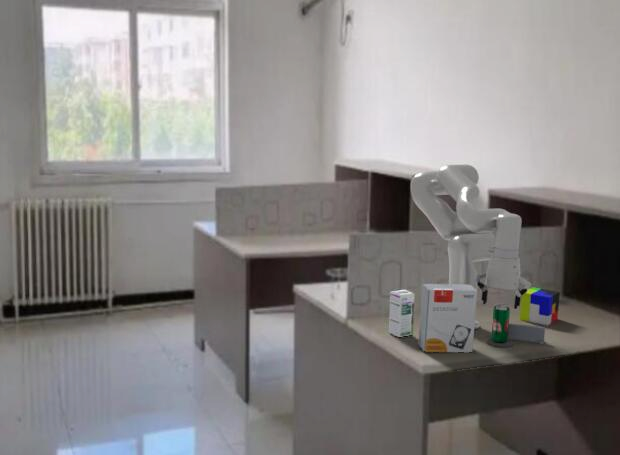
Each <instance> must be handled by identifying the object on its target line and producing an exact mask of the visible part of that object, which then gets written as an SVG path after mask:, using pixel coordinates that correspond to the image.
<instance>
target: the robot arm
mask: <svg viewBox="0 0 620 455" xmlns="http://www.w3.org/2000/svg"><path fill="white" fill-rule="evenodd" d="M479 178H480V177H479V172H478V171H477V169H476V168H475V167H474V166H473V165H471V164H447V165H444V166H442V167H441V168H440V169H439V170H437V171H425V172H419V173H417V174H416V175H414V176H413V177H412V179H411V181H410V194H411V197H412V200H413V202H414V204H415V205H416V206H417V208H418V209H419V210H420V211H421V212H422V214H424V215H425V216H426V217H427V219H428V221H429V222H430V223H431V225H432V226H433V227H434V229H435V230H436V232H437V233H438V234H439V236H440V237H441V238H442V239H443V240H445V241H448V243H447V254H448V266H449V270H448V272H449V274H448V284H465V285H471V286H472V287H474V288H475V289H476V290H477V291H478V288H479V289H480V290H481V292H482V293H481V301H482V304H483V305H486V303H487V302H488V294H489V290H488V289H495V290H502V291H507V292H514V293H515V298H514V305H513V308H514V309H515V310H517V309H518V307H521V296H522V295H523V294H525V293H526V292H527V291H528V289H530V288H531V287H532V283H531V282H530V281H528V280H527V279H525V278H523V277H522V276H521V259H520V258H519V248H520V238H521V231H522V217H521V216H520V215H518V214H516V213H511V212H509V211H507V210H506V209H503V208H500V207H499V208H485V209H484V208H480V209H477V208H476V207H474V204H475V203H476V202H477V200H478V199H479V196H480V189H479V187H478V184H479ZM442 195H443V196H444V195H445V196H446V195H449V196H450V197H451V198H452V199H453V200H454V201H455V202H456V206H455V208H456V211H454V210H453V209H452V208H451V206H450V205H449V204H448V202H446V201H445V200H444V199H442V198H440V197H439V196H442ZM493 233H494V234H493ZM486 261H488V263H487V268H486V272H483V273H480V274H478V272H477V270H476V267H475V265H474V263H476V262H486ZM484 278H485V282H484V283H485V284H484V283H483V282H482V279H484ZM520 283H521V284H523V285H524V288H522V289H520V287H519V286H520ZM479 328H480V322H479V321H477V320H476V319H475V326H474V331H475V330H477V329H479Z"/></svg>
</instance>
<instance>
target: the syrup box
mask: <svg viewBox="0 0 620 455" xmlns="http://www.w3.org/2000/svg"><path fill="white" fill-rule="evenodd" d="M389 293H390V294H389V320H388V325H389V326H388V333H389V332H390V333H393V334H395V335H397V336H399V337H401V336H408V335H413V336H414V316H415V293H414V292H413V291H411V290H407V289H400V290H394V291H390V292H389ZM408 337H409V336H408Z"/></svg>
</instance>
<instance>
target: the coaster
mask: <svg viewBox="0 0 620 455" xmlns="http://www.w3.org/2000/svg"><path fill="white" fill-rule="evenodd" d="M486 343H487V345H489V346H491V347H494V348H495V347H496V348H510V347H512V346H513V344H514V342H513V341H512V339H508V341H507V342H506V343H496V342H494V341H493V340H492V339H491V337H490V338H489V337H488V338H487V339H486Z"/></svg>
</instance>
